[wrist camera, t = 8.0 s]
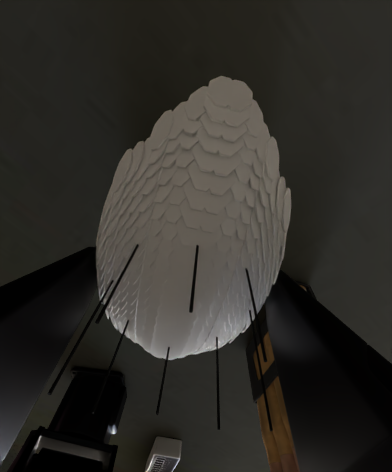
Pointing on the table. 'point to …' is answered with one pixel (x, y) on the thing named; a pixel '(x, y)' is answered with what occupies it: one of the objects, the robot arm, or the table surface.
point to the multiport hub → (164, 455)
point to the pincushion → (193, 230)
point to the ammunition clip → (272, 403)
